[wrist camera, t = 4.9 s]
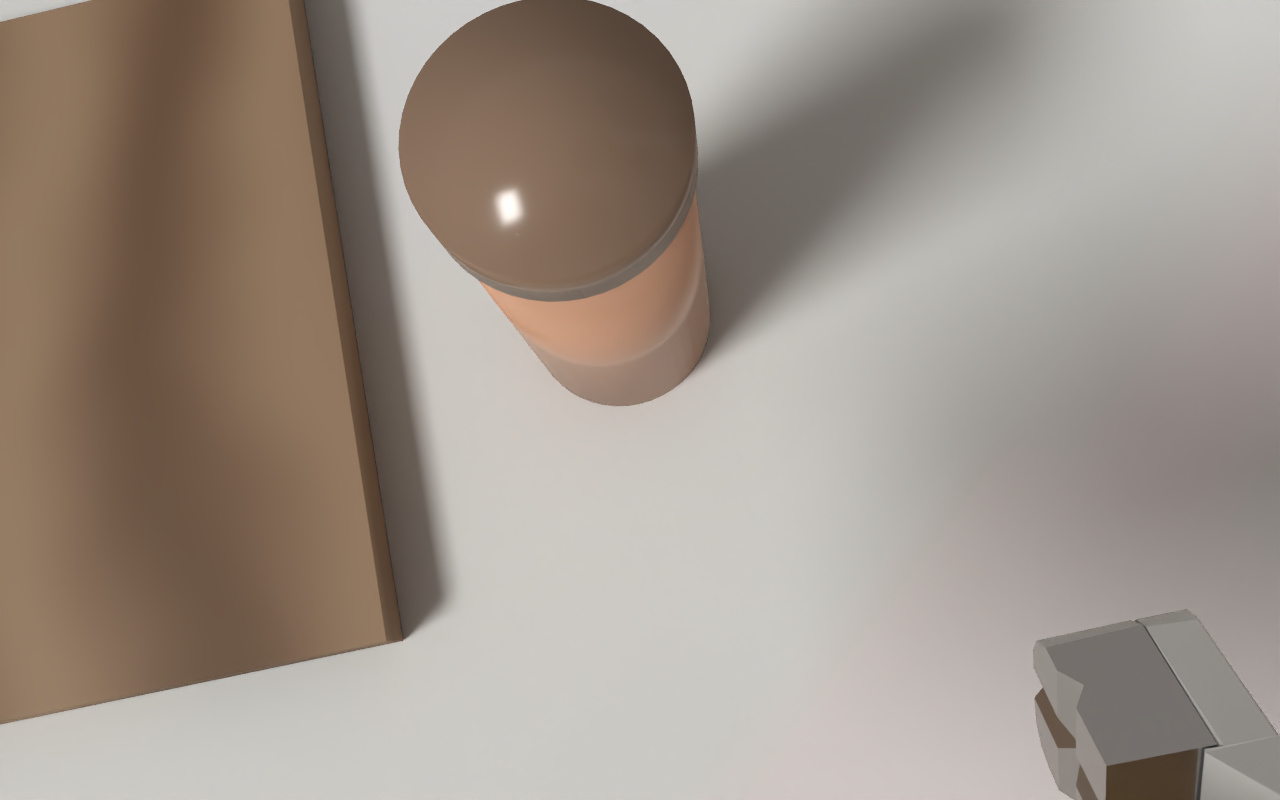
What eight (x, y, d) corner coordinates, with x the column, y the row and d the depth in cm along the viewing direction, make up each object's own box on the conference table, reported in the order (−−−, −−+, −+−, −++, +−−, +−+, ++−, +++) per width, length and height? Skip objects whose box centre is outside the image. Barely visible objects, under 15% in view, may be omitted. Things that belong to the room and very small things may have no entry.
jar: (693, 210, 27) (661, -33, 17) (733, 388, 26) (723, 240, 16) (513, 251, 27) (377, 33, 17) (546, 428, 26) (423, 306, 16)
